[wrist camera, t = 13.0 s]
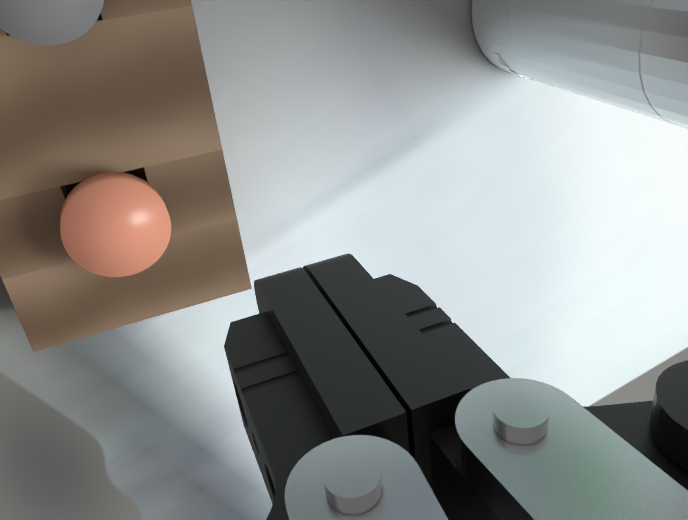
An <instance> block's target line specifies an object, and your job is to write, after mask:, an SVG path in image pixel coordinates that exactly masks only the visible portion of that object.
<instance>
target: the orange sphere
mask: <svg viewBox="0 0 688 520" xmlns="http://www.w3.org/2000/svg"><path fill="white" fill-rule="evenodd" d="M60 233H61V239H62V243H63V245H64V248H65V250H66V251H67V253H68V255H69V256H70V257H71V258H72V259H73V261H75V262H76V263H77V264H78V265H79V266H81V267H82V268H84V269H85V270H87V271H89V272H92V273H94V274H97V275H101V276H106V277H124V276H129V275H133V274H136V273H139V272H141V271H143V270H145V269H147V268H148V267H150V266H151V265H153V264H154V263H155V262H156V261H157V260H158V259H159V258H160V257H161V256H162V254H163V253H164V251H165V250H166V248H167V246H168V243H169V240H170V236H171V221H170V216H169V213H168V211H167V208H166V205H165V203H164V201H163V199H162V197H161V195H160V194H159V193H158V191H157V190H156V189H155V188H154V187H153V186H152V185H150V184H149V183H148V182H146V181H145V180H143V179H141V178H139V177H137V176H134V175H133V174H132V173H131V172H130V171H125V172H121V173H120V172H108V173H102V174H98V175H94V176H92V177H90V178H87V179H86V180H84V181H82V182H81V183H79V184H78V185H77V186H76V187H75V188H74V189H73V190H72V191H71V192H70V193H69V195H68V196H67V198H66V199H65V201H64V204H63V206H62V210H61V215H60Z"/></svg>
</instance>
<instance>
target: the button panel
mask: <svg viewBox="0 0 688 520" xmlns="http://www.w3.org/2000/svg"><path fill="white" fill-rule="evenodd" d="M125 171H130V172H131V173H132V174H133V175H134V176H137V177H139V178H141V179H143V180H145V181H146V182H148V183H149V184H150V185H152V186H153V187H154V188H155V189H156V190H157V191H158V193H159V194H160V195H161V197H162V199H163V201H164V203H165V205H166V208H167V211H168V213H169V216H170V221H171V236H170V240H169V243H168V246H167V248H166V250H165V251H164V253H163V254H162V256H161V257H160V258H159V259H158V260H157V261H156V262H155V263H154V264H153V265H151V266H150V267H148V268H147V269H145V270H143V271H141V272H139V273H136V274H133V275H129V276H124V277H106V276H101V275H97V274H94V273H92V272H89V271H87V270H85V269H84V268H82V267H81V266H79V265H78V264H77V263H76V262H75V261H73V259H72V258H71V257H70V256H69V255H68V253H67V251H66V250H65V248H64V245H63V243H62V239H61V233H60V215H61V210H62V206H63V204H64V201H65V199H66V198H67V196H68V195H69V193H70V192H71V191H72V190H73V189H74V188H75V187H76V186H77V185H78V184H79V183H81V182H82V181H84V180H86V179H87V178H90V177H92V176H94V175H98V174H102V173H108V172H120V173H121V172H125ZM0 276H1V278H2V281H3V283H4V285H5V288H6V290H7V292H8V294H9V297H10V299H11V301H12V304H13V306H14V308H15V311H16V313H17V315H18V318H19V320H20V322H21V324H22V327H23V329H24V331H25V334H26V336H27V338H28V341H29V343H30V345H31V347H32V350H33V352H35V351H38V350H41V349H45V348H48V347H52V346H55V345H59V344H62V343H66V342H69V341H73V340H76V339H79V338H83V337H86V336H90V335H93V334H97V333H100V332H104V331H107V330H110V329H114V328H117V327H121V326H124V325H128V324H131V323H135V322H138V321H141V320H145V319H148V318H152V317H155V316H159V315H162V314H166V313H169V312H172V311H176V310H179V309H183V308H186V307H190V306H193V305H197V304H200V303H204V302H207V301H210V300H214V299H217V298H221V297H224V296H228V295H231V294H235V293H238V292H241V291H245V290H248V289H252V288H251V284H250V279H249V274H248V269H247V265H246V260H245V255H244V250H243V246H242V241H241V236H240V232H239V227H238V222H237V217H236V213H235V208H234V203H233V199H232V194H231V189H230V184H229V180H228V175H227V170H226V165H225V161H224V156H223V151H222V147H221V142H220V137H219V132H218V128H217V123H216V118H215V114H214V109H213V104H212V99H211V95H210V90H209V85H208V80H207V76H206V71H205V66H204V62H203V57H202V52H201V47H200V43H199V38H198V33H197V28H196V24H195V19H194V14H193V10H192V5H191V0H104V4H103V7H102V10H101V13H100V15H99V17H98V19H97V20H96V22H95V23H94V25H93V26H92V27H91V28H90V29H89V30H88V31H87V32H86V33H85V34H83V35H82V36H80V37H79V38H77V39H75V40H73V41H70V42H68V43H64V44H60V45H37V44H32V43H28V42H25V41H22V40H20V39H17V38H15V37H13V36H11V35H9V34H8V33H6V32H5V31H3V30H2V29H0Z"/></svg>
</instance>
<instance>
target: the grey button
mask: <svg viewBox="0 0 688 520" xmlns="http://www.w3.org/2000/svg"><path fill="white" fill-rule="evenodd" d="M103 4H104V0H0V29H2V30H3V31H5V32H6V33H8V34H9V35H11V36H13V37H15V38H17V39H20V40H22V41H25V42H28V43H32V44H37V45H60V44H64V43H68V42H70V41H73V40H75V39H77V38H79V37H80V36H82V35H83V34H85V33H86V32H87V31H88V30H89V29H90V28H91V27H92V26H93V25H94V23H95V22H96V20H97V19H98V17H99V15H100V13H101V10H102V7H103Z"/></svg>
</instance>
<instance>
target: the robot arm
mask: <svg viewBox="0 0 688 520" xmlns="http://www.w3.org/2000/svg"><path fill="white" fill-rule="evenodd" d="M471 10H472V25H473V29H474V33H475V37H476V40H477V42H478V44H479V46H480V48H481V50H482V52H483V53H484V55H485V56H486V57H487V58H488V59H489V61H490V62H491V63H493V64H494V65H496V66H497V67H499V68H500V69H502V70H505V71H508V72H511V73H513V74H516V75H518V76H520V77H523V78H527V79H531V80H535V81H539V82H542V83H545V84H548V85H551V86H554V87H557V88H561V89H564V90H567V91H570V92H573V93H576V94H580V95H583V96H586V97H589V98H592V99H596V100H599V101H602V102H605V103H608V104H612V105H615V106H618V107H621V108H624V109H627V110H631V111H634V112H637V113H640V114H643V115H647V116H650V117H653V118H656V119H659V120H663V121H666V122H669V123H672V124H675V125H679V126H682V127H685V128H688V0H472V8H471ZM254 288H255V295H256V300H257V304H258V309H259V314H257V315H254V316H250V317H247V318H244V319H240V320H237V321H234V322H231V323H230V327H229V330H228V334H227V338H226V341H225V345H224V348H225V352H226V356H227V360H228V364H229V368H230V372H231V376H232V380H233V384H234V388H235V392H236V396H237V400H238V404H239V408H240V412H241V416H242V420H243V424H244V427H245V430H246V433H247V435H248V438H249V441H250V444H251V446H252V449H253V451H254V454H255V457H256V460H257V463H258V465H259V468H260V471H261V473H262V476H263V479H264V482H265V485H266V487H267V490H268V493H269V495H270V498H271V501H272V504H273V505H272V508H271V511H270V513H269V515H268V517H267V519H266V520H688V361H684V362H680V363H677V364H675V365H672V366H671V367H669V368H667V369H666V370H665V371H663V372H662V374H661V375H660V376H659V378H658V380H657V382H656V388H655V393H654V399H653V401H645V402H635V403H625V404H615V405H605V406H591V407H583V406H581V405H580V404H579V403H578V402H576V401H575V400H574V399H573V398H571V397H570V396H569V395H567V394H566V393H564V392H563V391H561V390H559V389H557V388H555V387H553V386H551V385H548V384H545V383H543V382H539V381H535V380H529V379H522V378H510V377H509V376H508V375H507V374H506V373H505V372H504V371H503V370H502V369H501V368H500V367H499V366H498V365H497V364H496V363H495V362H494V361H493V360H492V359H491V358H490V357H489V356H488V355H487V354H486V353H485V352H484V351H483V350H482V349H481V348H480V347H479V346H478V345H477V344H476V343H475V342H474V341H473V340H472V339H471V338H470V337H469V336H468V335H467V334H466V333H465V332H464V331H463V330H462V329H461V328H460V327H459V326H458V325H457V324H456V323H452V321H451V318H450V317H449V316H448V315H447V314H446V313H445V312H444V311H443V310H442V309H441V308H440V307H439V308H437V307H436V303H435V302H434V301H433V300H432V299H431V298H430V297H429V296H428V295H427V294H426V293H425V292H423V291H422V290H421V289H420V288H419V287H418V286H417V285H415V284H412V283H410V282H408V281H405V280H403V279H401V278H398V277H396V276H393V275H391V274H389V275H385V276H382V277H379V278H376V279H373V278H372V277H371V276H370V274H369V273H368V272H367V271H366V270H365V269H364V268H363V267H362V265H361V264H360V263H359V262H358V261H357V260H356V259H355V258H354V257H353V256H352V255H351V254H345V255H341V256H338V257H334V258H331V259H327V260H324V261H320V262H317V263H313V264H310V265H306V266H304V267H303V268H301V267H300V268H296V269H293V270H289V271H286V272H283V273H279V274H276V275H272V276H269V277H265V278H262V279H258V280H255V281H254Z"/></svg>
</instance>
